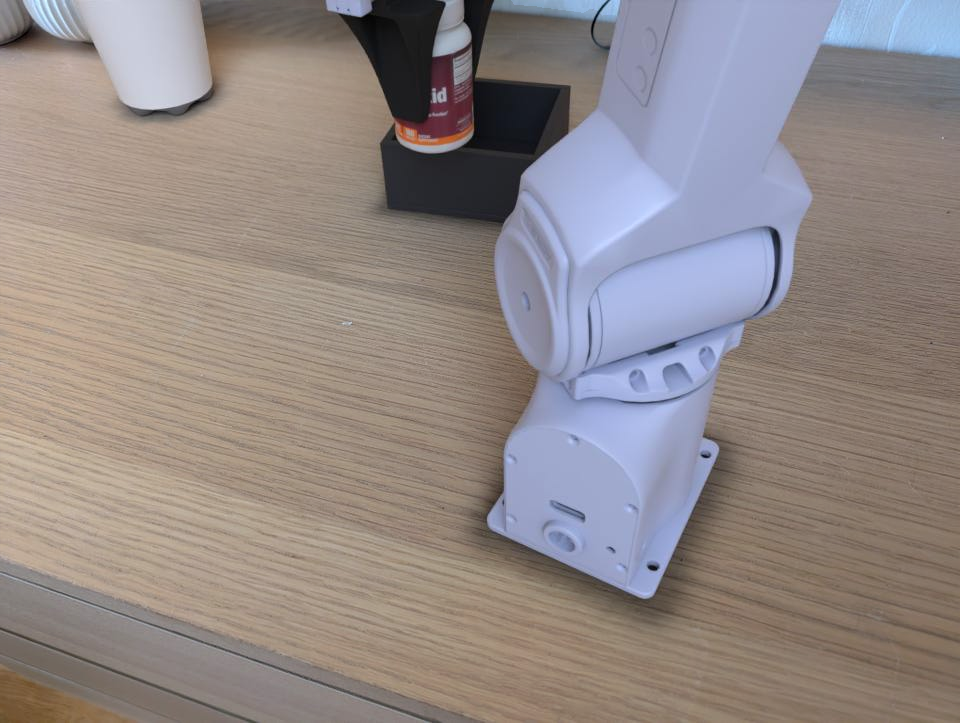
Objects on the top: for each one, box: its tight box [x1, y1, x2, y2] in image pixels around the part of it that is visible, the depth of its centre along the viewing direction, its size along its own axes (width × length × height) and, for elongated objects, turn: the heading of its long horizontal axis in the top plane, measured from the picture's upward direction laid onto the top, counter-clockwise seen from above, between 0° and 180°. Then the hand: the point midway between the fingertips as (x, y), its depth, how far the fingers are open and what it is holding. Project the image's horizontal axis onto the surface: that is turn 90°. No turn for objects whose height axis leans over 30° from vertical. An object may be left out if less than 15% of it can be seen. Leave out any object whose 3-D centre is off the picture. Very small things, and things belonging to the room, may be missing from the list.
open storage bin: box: [379, 76, 572, 224], centre depth 58 cm, size 11×11×5 cm
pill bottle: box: [393, 0, 474, 153], centre depth 46 cm, size 5×5×8 cm
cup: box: [73, 0, 213, 117], centre depth 65 cm, size 10×10×13 cm
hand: (434, 98), depth 48 cm, fingers closed on pill bottle, 5 cm apart
